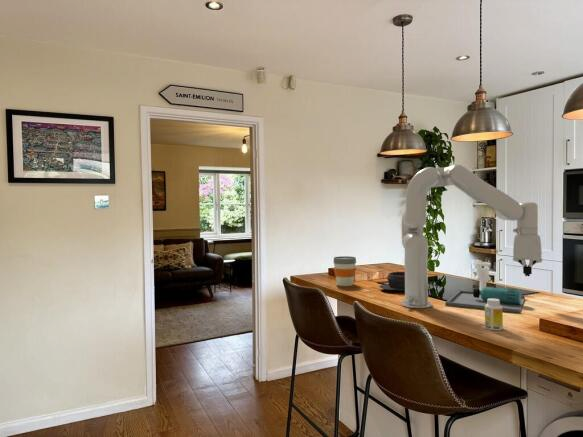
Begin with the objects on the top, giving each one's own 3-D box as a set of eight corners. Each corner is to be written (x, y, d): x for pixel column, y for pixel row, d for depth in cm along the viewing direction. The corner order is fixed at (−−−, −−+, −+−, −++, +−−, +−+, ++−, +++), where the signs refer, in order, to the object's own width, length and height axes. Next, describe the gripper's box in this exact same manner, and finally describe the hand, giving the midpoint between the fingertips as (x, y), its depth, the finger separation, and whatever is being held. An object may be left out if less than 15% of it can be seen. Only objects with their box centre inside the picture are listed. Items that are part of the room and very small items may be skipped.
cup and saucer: (416, 285, 225) (416, 269, 224) (435, 292, 206) (435, 275, 206) (373, 288, 219) (373, 272, 219) (388, 295, 201) (388, 278, 201)
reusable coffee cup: (344, 281, 240) (344, 255, 239) (361, 284, 230) (360, 257, 230) (329, 284, 232) (328, 257, 231) (345, 287, 222) (345, 259, 222)
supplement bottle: (504, 328, 145) (504, 299, 145) (499, 332, 141) (499, 302, 141) (487, 325, 149) (487, 297, 148) (482, 329, 145) (482, 299, 144)
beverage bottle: (522, 302, 170) (471, 296, 182) (524, 307, 175) (474, 302, 187) (523, 287, 173) (472, 283, 185) (525, 293, 177) (476, 288, 189)
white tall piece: (479, 288, 212) (478, 259, 212) (493, 290, 207) (492, 260, 206) (472, 290, 208) (472, 260, 207) (486, 292, 202) (486, 261, 202)
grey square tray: (519, 313, 163) (519, 309, 163) (445, 305, 179) (445, 302, 179) (524, 299, 187) (524, 295, 187) (458, 293, 202) (458, 290, 202)
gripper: (506, 232, 174) (506, 275, 175) (548, 232, 166) (548, 278, 166) (508, 231, 180) (508, 273, 181) (548, 231, 172) (548, 275, 173)
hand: (527, 275), depth 174 cm, fingers closed
